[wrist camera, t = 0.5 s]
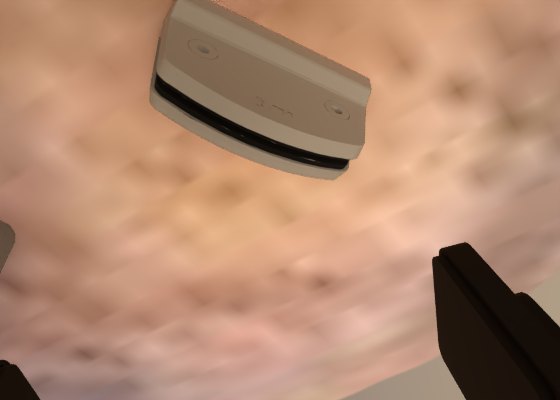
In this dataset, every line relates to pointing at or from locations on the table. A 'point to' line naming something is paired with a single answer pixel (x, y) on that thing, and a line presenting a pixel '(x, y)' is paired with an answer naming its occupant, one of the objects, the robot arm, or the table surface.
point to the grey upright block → (5, 242)
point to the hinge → (258, 92)
